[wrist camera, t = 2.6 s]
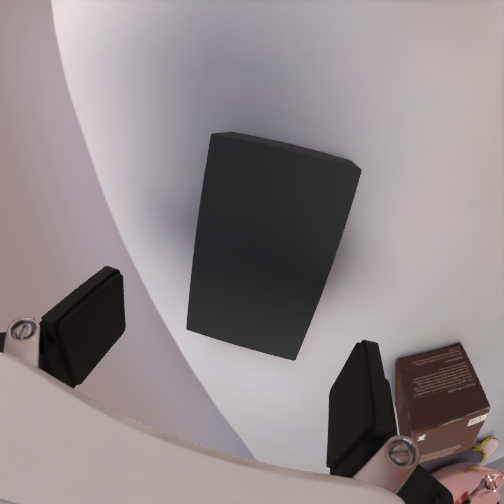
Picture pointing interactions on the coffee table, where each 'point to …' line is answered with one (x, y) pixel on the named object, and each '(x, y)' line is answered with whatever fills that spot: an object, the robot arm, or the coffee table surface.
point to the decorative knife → (486, 447)
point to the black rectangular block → (266, 240)
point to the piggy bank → (471, 483)
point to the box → (439, 402)
